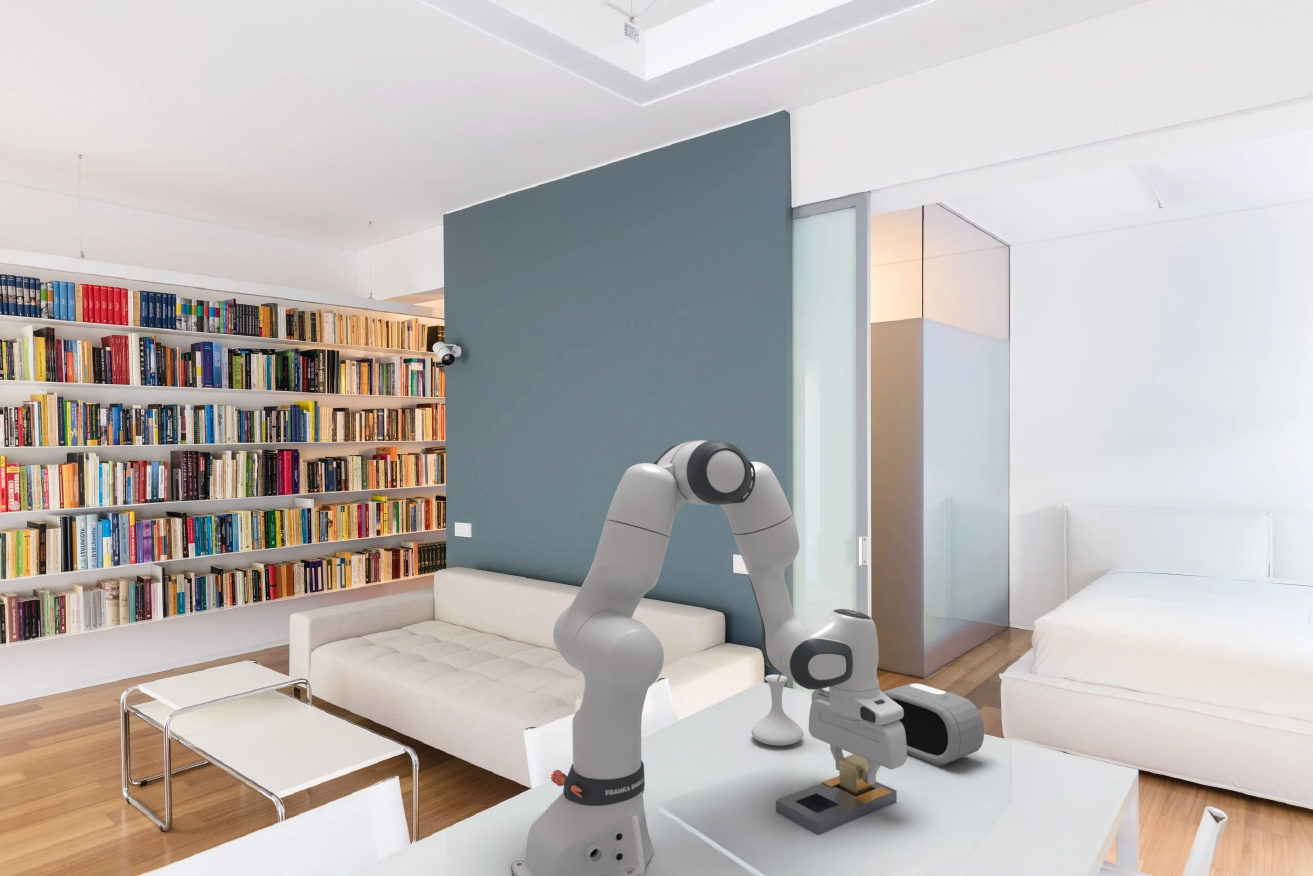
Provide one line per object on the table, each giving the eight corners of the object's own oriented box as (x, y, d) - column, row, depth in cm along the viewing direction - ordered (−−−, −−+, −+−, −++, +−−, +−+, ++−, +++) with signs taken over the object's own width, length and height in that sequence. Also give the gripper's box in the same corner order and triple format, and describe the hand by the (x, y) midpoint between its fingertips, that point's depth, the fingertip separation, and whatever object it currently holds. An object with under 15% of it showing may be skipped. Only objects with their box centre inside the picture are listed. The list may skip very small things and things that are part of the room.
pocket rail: (818, 841, 128) (817, 821, 128) (776, 817, 136) (775, 799, 136) (896, 807, 139) (896, 789, 139) (853, 787, 147) (853, 770, 147)
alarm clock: (873, 742, 169) (872, 681, 169) (902, 733, 174) (900, 673, 174) (955, 775, 152) (954, 707, 152) (984, 764, 157) (983, 697, 157)
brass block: (856, 806, 137) (856, 766, 137) (839, 797, 141) (839, 759, 141) (872, 800, 140) (871, 761, 140) (854, 792, 143) (854, 754, 143)
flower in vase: (745, 746, 168) (743, 631, 168) (759, 728, 178) (757, 619, 179) (805, 755, 163) (803, 636, 163) (815, 735, 173) (813, 624, 173)
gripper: (800, 688, 147) (801, 761, 147) (887, 719, 130) (889, 801, 130) (823, 682, 151) (824, 753, 151) (911, 711, 134) (913, 791, 134)
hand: (855, 776), depth 140 cm, fingers open, 5 cm apart
